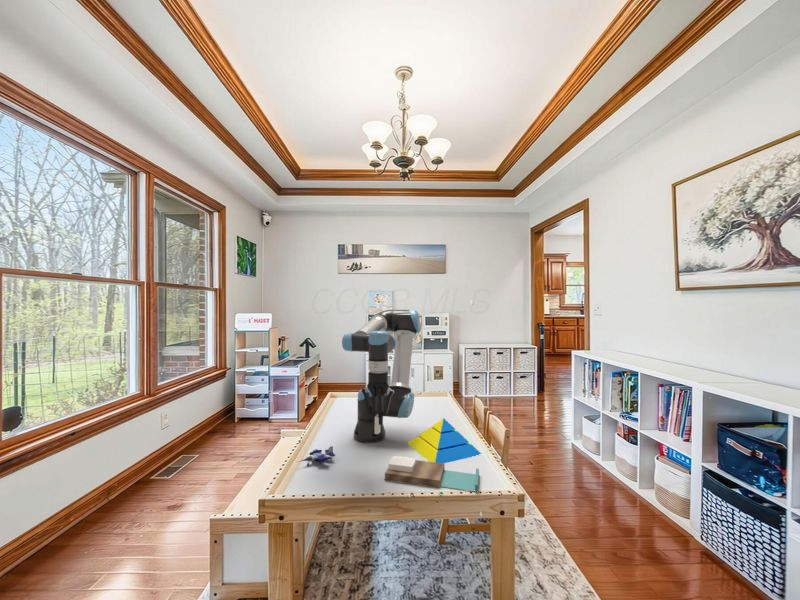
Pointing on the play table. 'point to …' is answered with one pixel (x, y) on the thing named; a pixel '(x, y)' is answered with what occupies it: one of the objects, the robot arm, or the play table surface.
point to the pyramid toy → (443, 444)
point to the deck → (419, 474)
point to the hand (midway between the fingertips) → (377, 432)
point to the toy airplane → (320, 456)
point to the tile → (402, 464)
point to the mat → (460, 480)
